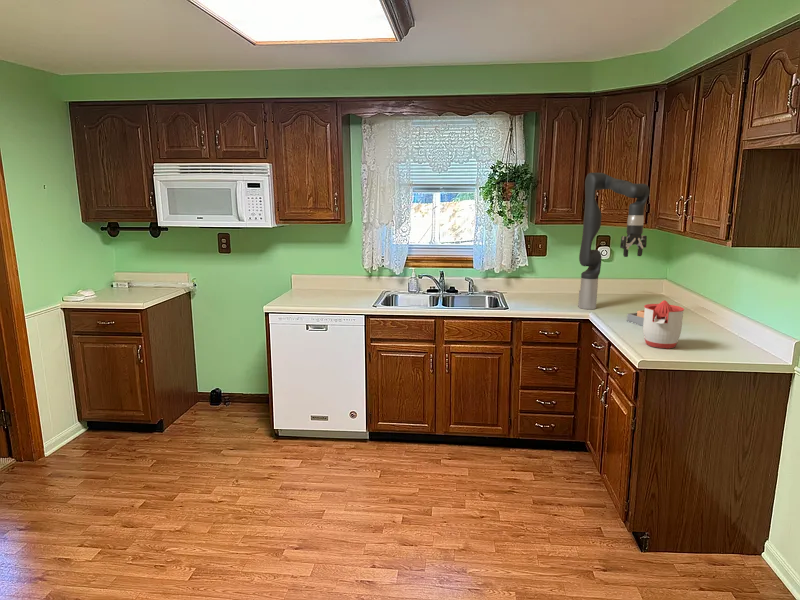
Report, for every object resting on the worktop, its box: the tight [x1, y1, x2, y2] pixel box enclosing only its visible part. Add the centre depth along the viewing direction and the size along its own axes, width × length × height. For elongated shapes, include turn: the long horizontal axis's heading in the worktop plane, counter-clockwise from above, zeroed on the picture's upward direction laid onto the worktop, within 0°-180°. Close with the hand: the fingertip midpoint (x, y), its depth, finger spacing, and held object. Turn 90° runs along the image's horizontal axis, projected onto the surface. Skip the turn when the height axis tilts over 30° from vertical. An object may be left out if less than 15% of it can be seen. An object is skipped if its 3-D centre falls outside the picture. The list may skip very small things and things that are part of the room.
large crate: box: [626, 312, 644, 327], centre depth 284 cm, size 12×14×4 cm
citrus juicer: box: [642, 299, 685, 350], centre depth 241 cm, size 16×17×20 cm
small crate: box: [636, 309, 645, 318], centre depth 284 cm, size 8×6×5 cm
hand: (632, 256), depth 284 cm, fingers open, 8 cm apart
